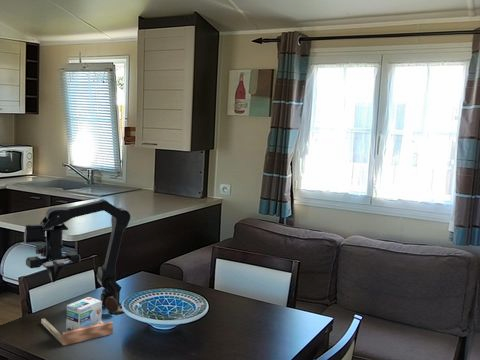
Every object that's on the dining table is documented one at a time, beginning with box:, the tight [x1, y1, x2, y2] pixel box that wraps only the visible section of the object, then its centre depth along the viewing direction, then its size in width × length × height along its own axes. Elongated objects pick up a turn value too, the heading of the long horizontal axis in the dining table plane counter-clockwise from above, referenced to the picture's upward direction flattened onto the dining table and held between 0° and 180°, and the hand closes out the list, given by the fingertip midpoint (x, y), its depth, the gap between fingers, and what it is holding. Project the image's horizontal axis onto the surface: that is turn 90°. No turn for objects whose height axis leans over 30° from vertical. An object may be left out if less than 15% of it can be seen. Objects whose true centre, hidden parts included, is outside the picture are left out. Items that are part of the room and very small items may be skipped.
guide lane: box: [40, 317, 114, 346], centre depth 173 cm, size 17×22×4 cm
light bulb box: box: [65, 296, 103, 332], centre depth 170 cm, size 11×7×11 cm, turn 152°
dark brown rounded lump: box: [104, 296, 124, 315], centre depth 190 cm, size 8×8×7 cm
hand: (53, 281), depth 184 cm, fingers closed
